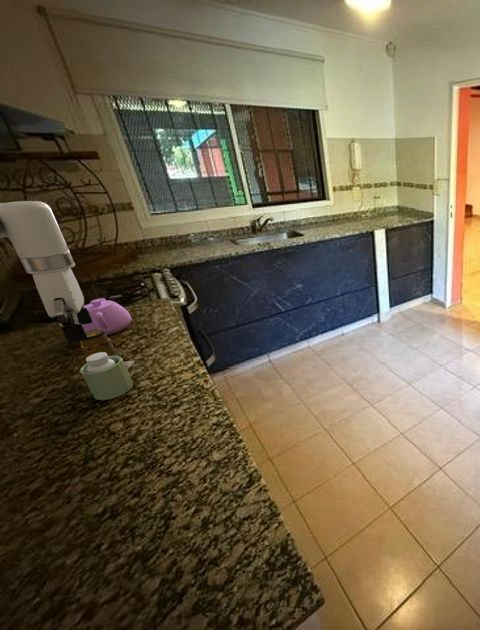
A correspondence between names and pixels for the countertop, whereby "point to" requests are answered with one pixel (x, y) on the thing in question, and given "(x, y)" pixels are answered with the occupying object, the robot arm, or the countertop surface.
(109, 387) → the mug
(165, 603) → the countertop surface
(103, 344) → the condiment
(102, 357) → the pill bottle
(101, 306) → the teapot
